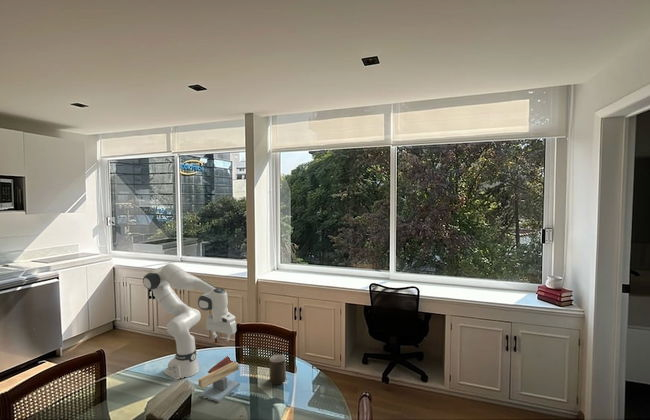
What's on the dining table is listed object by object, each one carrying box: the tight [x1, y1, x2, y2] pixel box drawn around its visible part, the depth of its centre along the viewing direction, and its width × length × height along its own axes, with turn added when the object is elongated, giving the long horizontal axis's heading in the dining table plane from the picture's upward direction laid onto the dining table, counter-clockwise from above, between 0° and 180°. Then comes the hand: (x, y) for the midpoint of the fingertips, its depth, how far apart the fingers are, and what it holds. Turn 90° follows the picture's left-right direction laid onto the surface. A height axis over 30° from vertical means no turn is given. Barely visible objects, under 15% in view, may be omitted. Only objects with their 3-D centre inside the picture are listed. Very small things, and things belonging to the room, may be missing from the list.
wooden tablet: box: [208, 355, 233, 374], centre depth 229 cm, size 27×10×2 cm, turn 162°
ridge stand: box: [199, 376, 241, 403], centre depth 198 cm, size 14×18×8 cm
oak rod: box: [198, 361, 240, 389], centre depth 197 cm, size 4×24×4 cm, turn 141°
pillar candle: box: [269, 354, 287, 385], centre depth 207 cm, size 10×10×15 cm
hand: (221, 338), depth 200 cm, fingers open, 8 cm apart
